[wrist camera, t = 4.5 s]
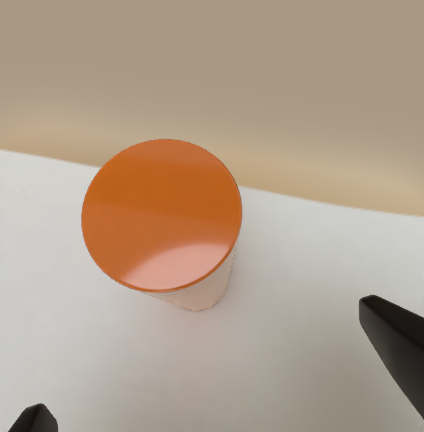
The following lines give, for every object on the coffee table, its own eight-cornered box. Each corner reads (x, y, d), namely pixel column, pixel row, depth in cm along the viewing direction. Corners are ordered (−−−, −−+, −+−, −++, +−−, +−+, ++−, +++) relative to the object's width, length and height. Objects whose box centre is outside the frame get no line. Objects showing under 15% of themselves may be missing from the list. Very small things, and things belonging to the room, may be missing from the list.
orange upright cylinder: (236, 258, 21) (262, 162, 8) (216, 320, 20) (212, 317, 7) (178, 239, 21) (119, 120, 9) (155, 298, 20) (51, 260, 8)
